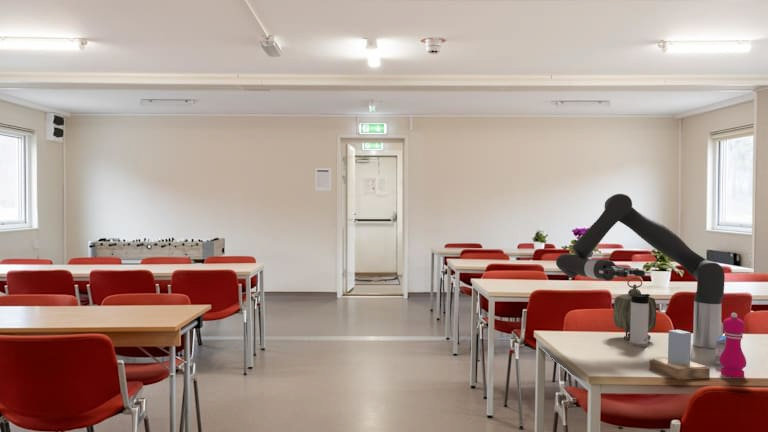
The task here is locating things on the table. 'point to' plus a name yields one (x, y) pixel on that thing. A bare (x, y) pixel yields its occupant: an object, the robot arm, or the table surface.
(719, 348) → the label tape box
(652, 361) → the block
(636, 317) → the travel mug
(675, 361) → the slate-blue block
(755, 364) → the table surface
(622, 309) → the tabletop clock
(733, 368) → the pepper mill
